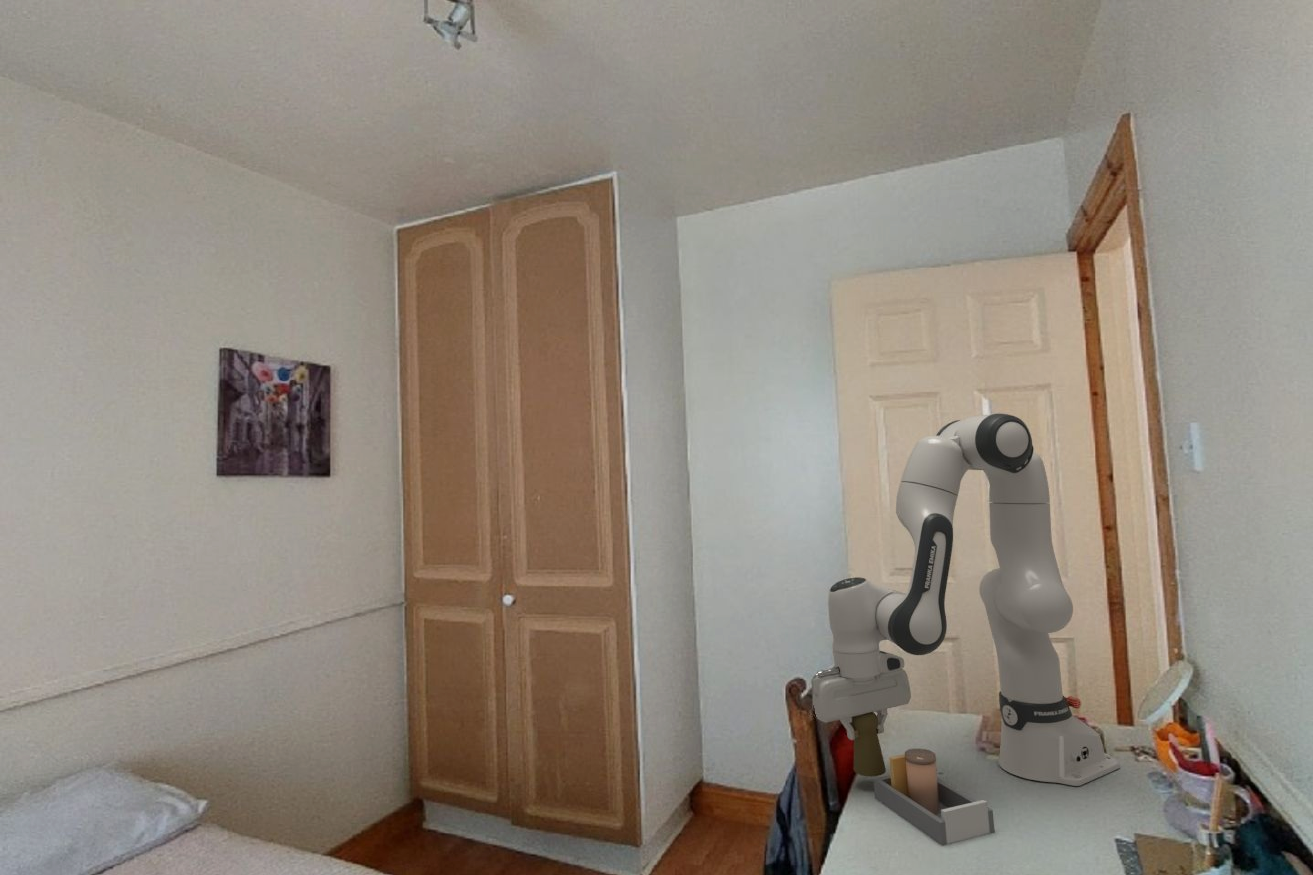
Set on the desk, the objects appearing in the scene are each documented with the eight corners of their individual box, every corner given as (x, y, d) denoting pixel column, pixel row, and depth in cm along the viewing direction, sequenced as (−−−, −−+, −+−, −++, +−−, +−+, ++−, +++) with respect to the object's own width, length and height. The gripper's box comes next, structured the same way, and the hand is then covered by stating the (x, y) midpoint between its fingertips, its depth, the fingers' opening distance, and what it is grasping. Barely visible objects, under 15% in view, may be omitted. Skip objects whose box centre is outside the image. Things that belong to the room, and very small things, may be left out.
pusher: (927, 794, 127) (923, 750, 128) (930, 796, 126) (927, 752, 127) (892, 802, 125) (889, 757, 125) (896, 804, 124) (892, 759, 125)
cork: (888, 776, 129) (881, 716, 130) (855, 776, 130) (848, 717, 131) (883, 762, 135) (877, 705, 136) (851, 763, 136) (845, 706, 137)
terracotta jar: (926, 800, 126) (922, 746, 126) (946, 812, 121) (942, 756, 121) (902, 806, 124) (898, 751, 125) (921, 819, 119) (917, 762, 120)
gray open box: (922, 790, 131) (920, 760, 131) (994, 835, 114) (991, 800, 114) (875, 801, 128) (872, 770, 128) (942, 849, 110) (939, 813, 111)
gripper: (819, 676, 128) (827, 752, 127) (911, 657, 134) (920, 729, 133) (802, 668, 134) (810, 741, 133) (891, 651, 140) (899, 720, 139)
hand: (866, 735), depth 133 cm, fingers closed on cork, 4 cm apart
